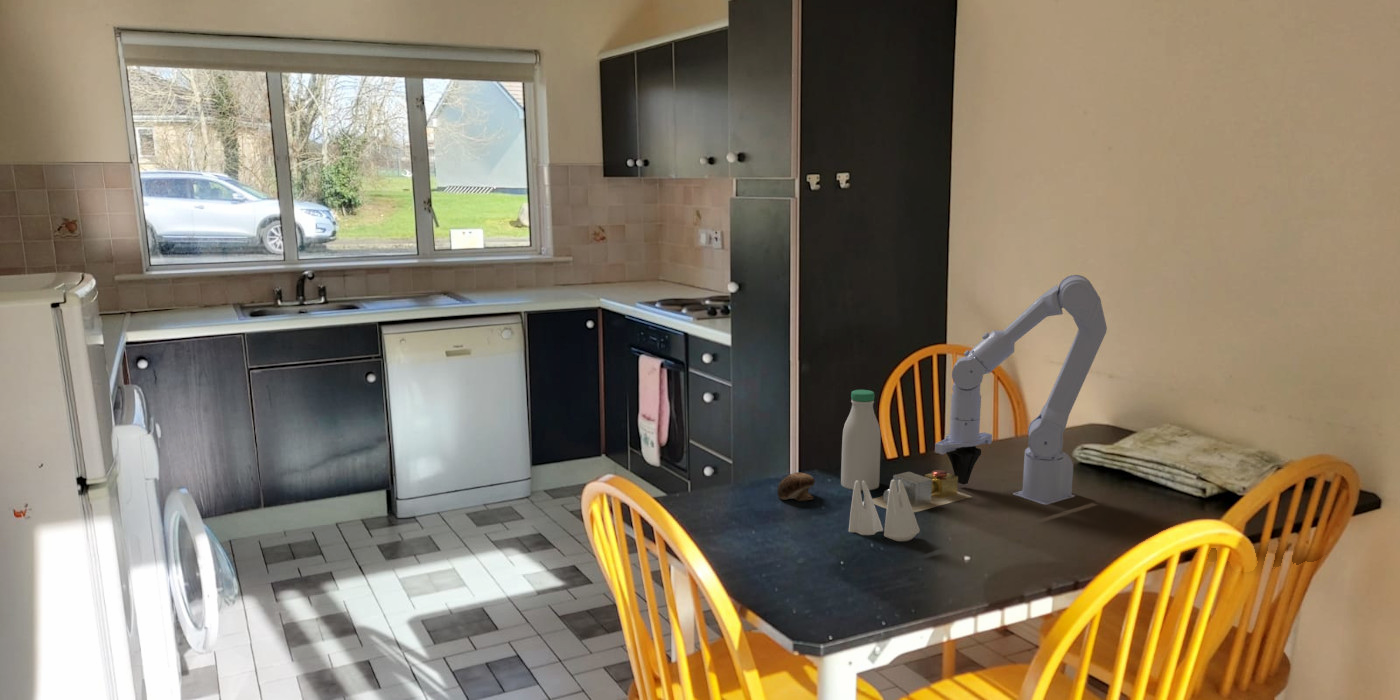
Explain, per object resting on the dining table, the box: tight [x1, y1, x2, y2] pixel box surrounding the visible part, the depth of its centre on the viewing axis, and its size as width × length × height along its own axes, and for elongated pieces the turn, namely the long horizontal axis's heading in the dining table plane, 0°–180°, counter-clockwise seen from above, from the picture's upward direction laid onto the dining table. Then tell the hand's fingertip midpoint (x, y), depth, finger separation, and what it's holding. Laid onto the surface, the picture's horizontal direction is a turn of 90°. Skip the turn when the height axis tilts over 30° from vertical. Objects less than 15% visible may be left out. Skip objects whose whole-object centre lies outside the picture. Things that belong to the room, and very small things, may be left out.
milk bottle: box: [840, 389, 882, 491], centre depth 198 cm, size 8×8×20 cm
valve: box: [924, 469, 959, 498], centre depth 193 cm, size 8×4×4 cm, turn 124°
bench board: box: [872, 491, 973, 514], centre depth 191 cm, size 19×10×1 cm, turn 124°
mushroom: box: [777, 472, 816, 502], centre depth 191 cm, size 8×8×6 cm
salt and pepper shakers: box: [848, 478, 921, 542], centre depth 171 cm, size 12×4×11 cm, turn 59°
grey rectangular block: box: [882, 471, 932, 507], centre depth 188 cm, size 8×6×5 cm
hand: (961, 482), depth 198 cm, fingers closed
